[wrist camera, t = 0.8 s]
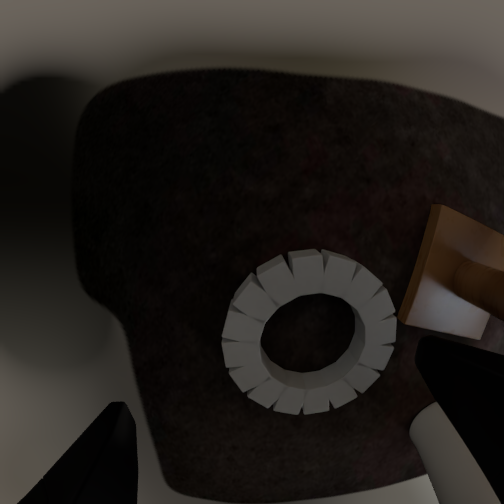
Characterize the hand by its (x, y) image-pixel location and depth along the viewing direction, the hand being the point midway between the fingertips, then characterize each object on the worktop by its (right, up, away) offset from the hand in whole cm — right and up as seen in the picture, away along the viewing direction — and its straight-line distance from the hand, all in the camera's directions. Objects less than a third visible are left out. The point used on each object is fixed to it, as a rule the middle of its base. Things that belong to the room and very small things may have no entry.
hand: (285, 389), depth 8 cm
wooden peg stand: (+16, +2, +13) cm, 20 cm away
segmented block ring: (+3, -2, +14) cm, 14 cm away
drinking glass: (+17, -13, +15) cm, 26 cm away
